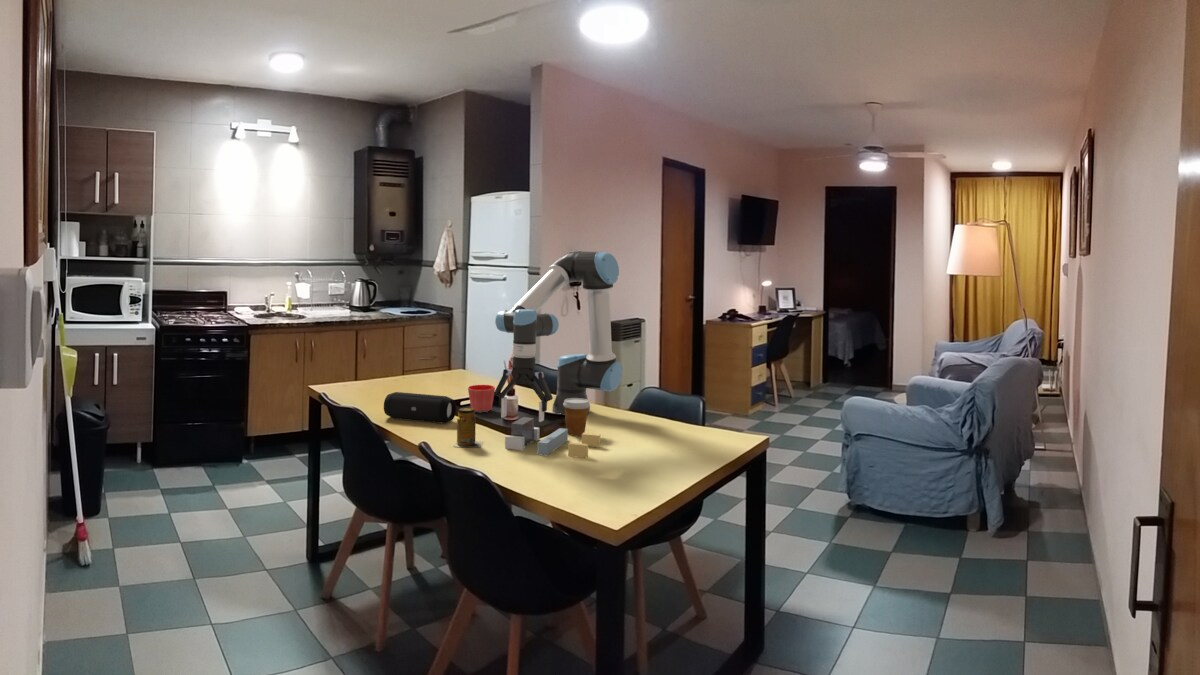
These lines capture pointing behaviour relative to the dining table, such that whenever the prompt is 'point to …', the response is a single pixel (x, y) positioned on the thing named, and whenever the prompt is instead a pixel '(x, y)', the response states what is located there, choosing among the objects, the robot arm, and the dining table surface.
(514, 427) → the steel block
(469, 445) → the condiment
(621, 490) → the dining table surface
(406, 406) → the portable speaker
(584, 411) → the disposable coffee cup
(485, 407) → the flower pot
